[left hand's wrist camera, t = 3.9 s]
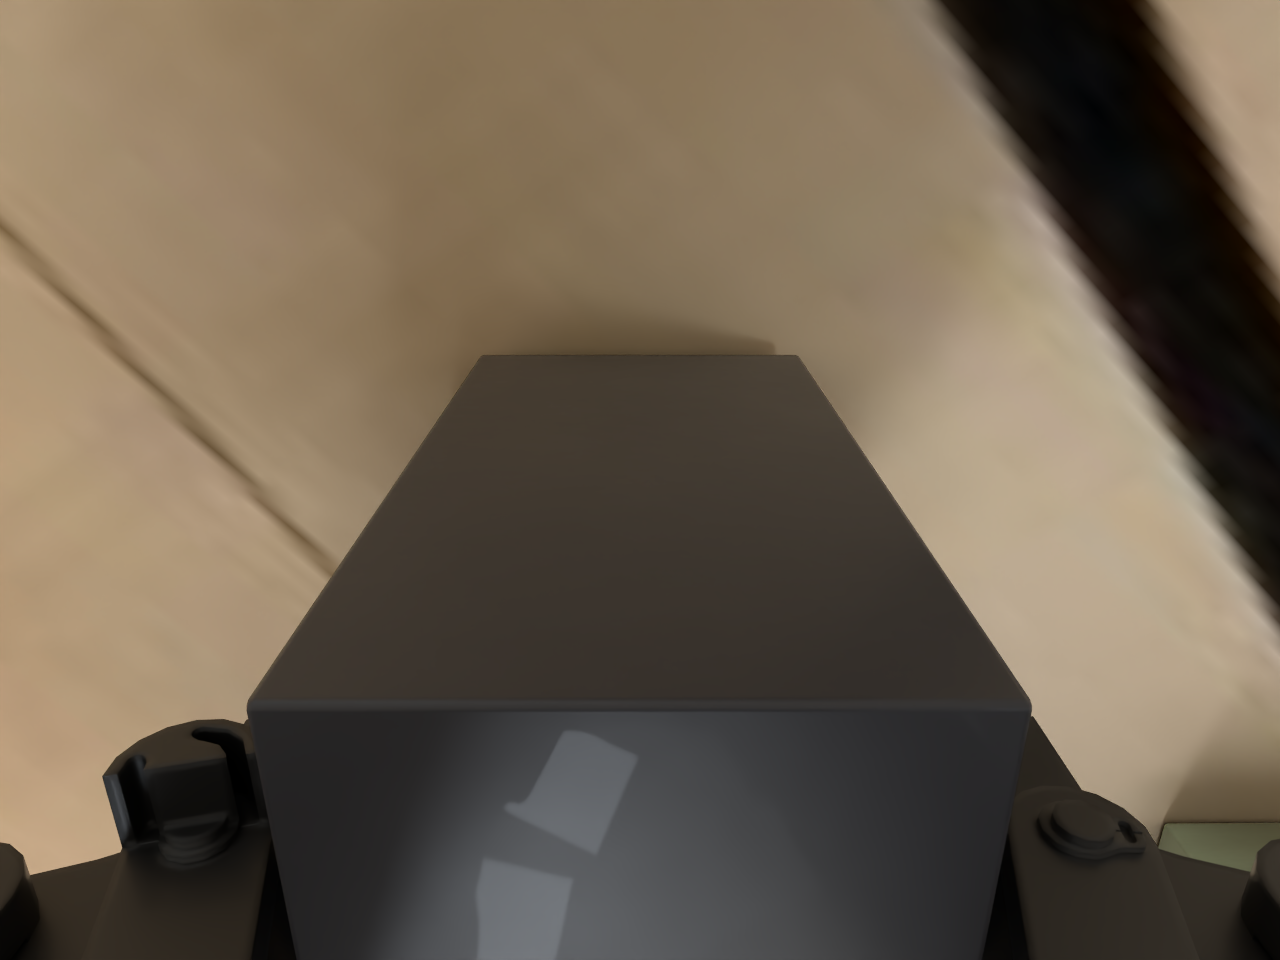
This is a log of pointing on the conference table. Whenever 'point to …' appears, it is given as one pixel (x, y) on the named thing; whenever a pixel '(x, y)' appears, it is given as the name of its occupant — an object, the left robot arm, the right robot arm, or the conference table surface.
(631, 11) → the conference table surface
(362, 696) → the beam
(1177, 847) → the sage block
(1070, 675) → the conference table surface
